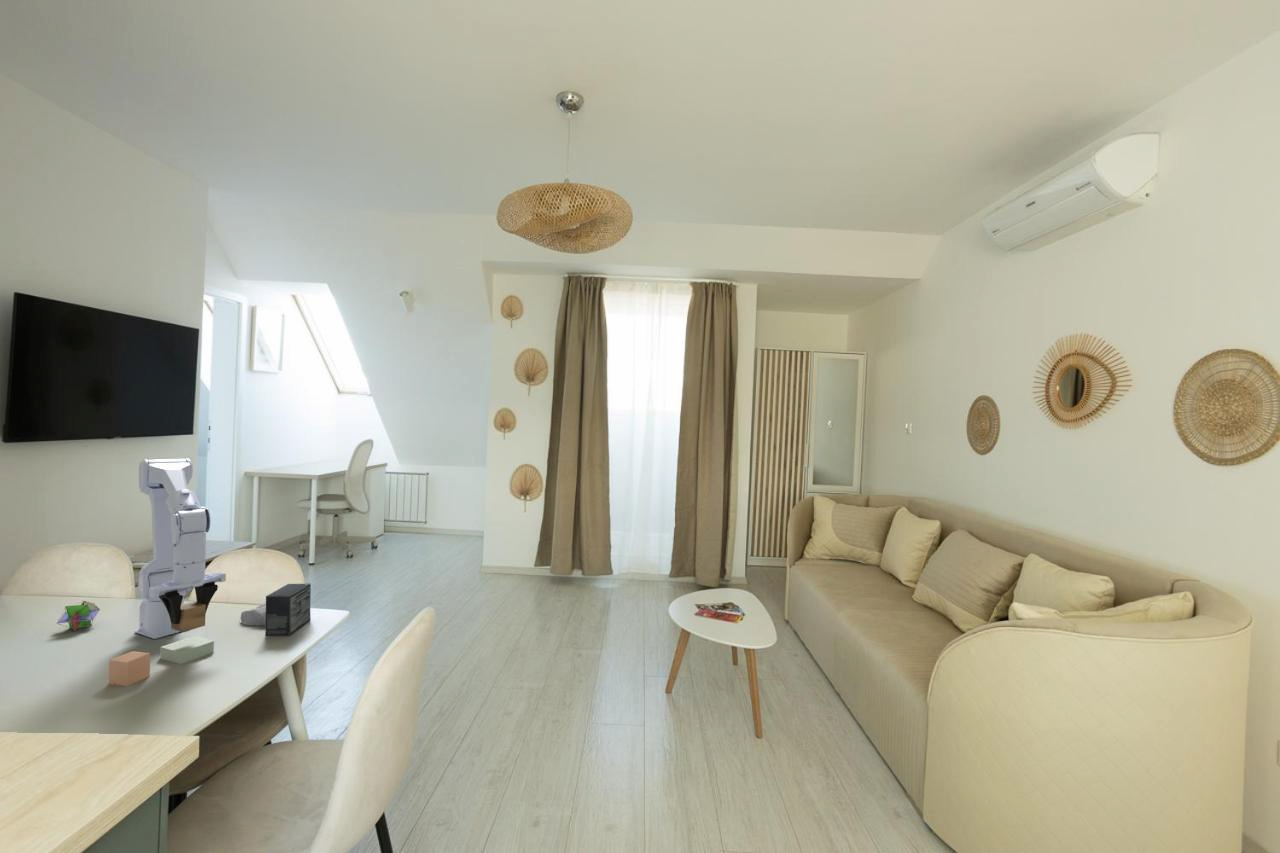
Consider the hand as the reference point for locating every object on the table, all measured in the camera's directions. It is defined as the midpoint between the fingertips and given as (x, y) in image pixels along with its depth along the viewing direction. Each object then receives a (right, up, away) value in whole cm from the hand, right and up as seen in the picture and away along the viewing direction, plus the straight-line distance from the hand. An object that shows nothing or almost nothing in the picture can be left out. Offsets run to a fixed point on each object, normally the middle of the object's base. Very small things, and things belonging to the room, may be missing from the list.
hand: (188, 619), depth 127 cm
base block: (0, -9, 0) cm, 9 cm away
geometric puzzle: (-38, -7, +13) cm, 41 cm away
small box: (+12, -9, +18) cm, 23 cm away
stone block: (+2, -9, +25) cm, 26 cm away
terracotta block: (-2, -9, -12) cm, 15 cm away
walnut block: (0, -2, 0) cm, 2 cm away
